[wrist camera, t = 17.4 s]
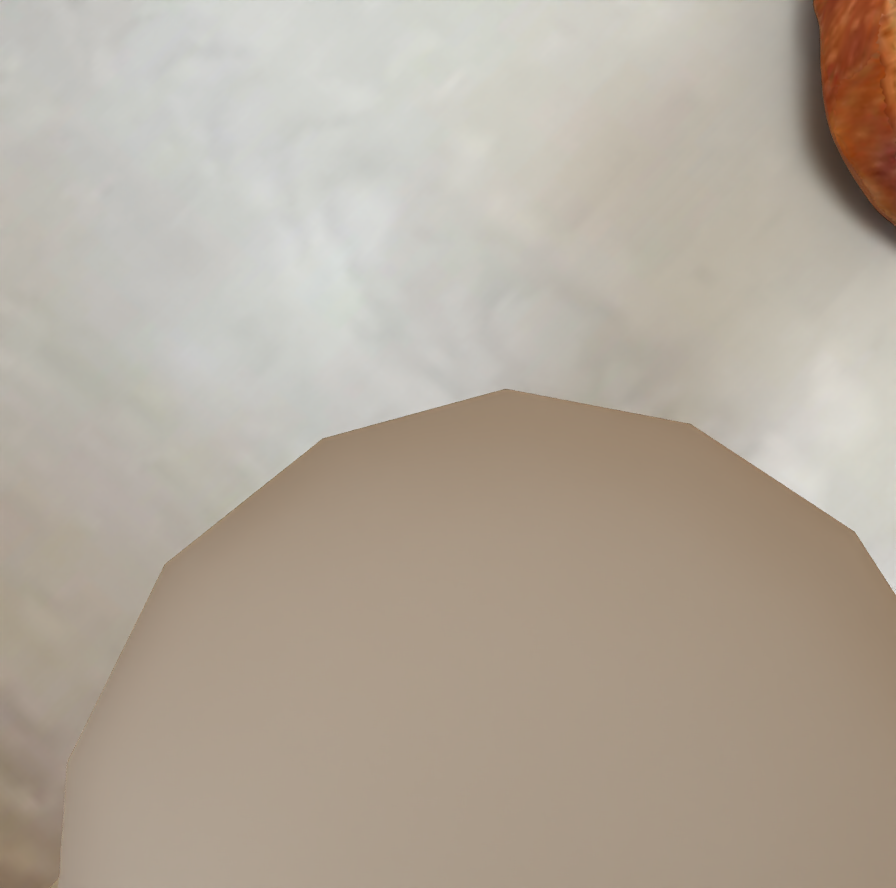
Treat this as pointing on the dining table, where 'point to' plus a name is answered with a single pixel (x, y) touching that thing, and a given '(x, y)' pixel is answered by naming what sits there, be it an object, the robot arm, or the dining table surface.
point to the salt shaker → (501, 674)
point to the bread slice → (862, 92)
